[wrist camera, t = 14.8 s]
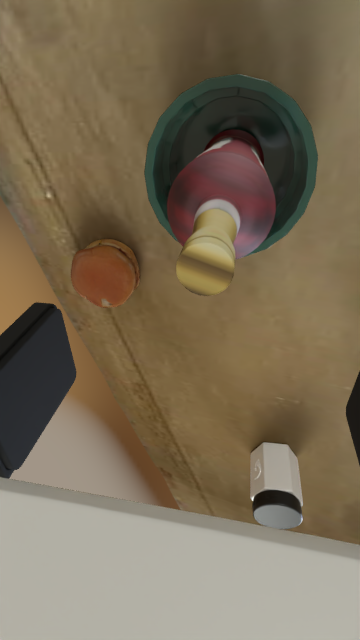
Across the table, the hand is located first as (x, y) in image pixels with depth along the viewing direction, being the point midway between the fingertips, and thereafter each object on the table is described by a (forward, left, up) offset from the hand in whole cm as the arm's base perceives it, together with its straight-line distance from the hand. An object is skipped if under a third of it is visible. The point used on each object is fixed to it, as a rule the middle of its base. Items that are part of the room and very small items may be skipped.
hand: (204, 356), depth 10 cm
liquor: (0, -1, -34) cm, 34 cm away
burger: (+21, -8, -35) cm, 42 cm away
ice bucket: (0, -1, -35) cm, 35 cm away
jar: (+40, +36, -35) cm, 65 cm away
